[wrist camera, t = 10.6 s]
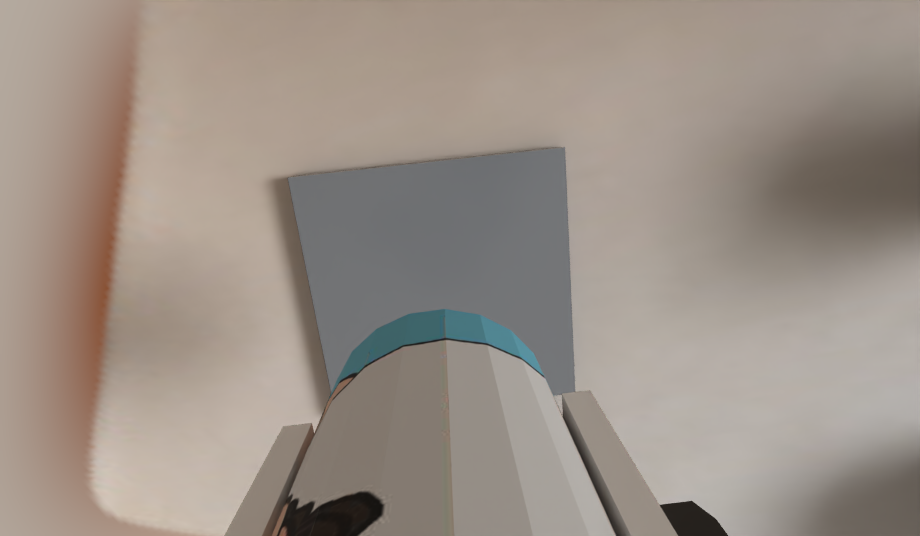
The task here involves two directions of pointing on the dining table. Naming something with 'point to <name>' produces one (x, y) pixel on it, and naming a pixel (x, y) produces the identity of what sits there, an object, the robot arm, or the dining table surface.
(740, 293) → the dining table surface
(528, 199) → the coaster
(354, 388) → the white printed cylinder
